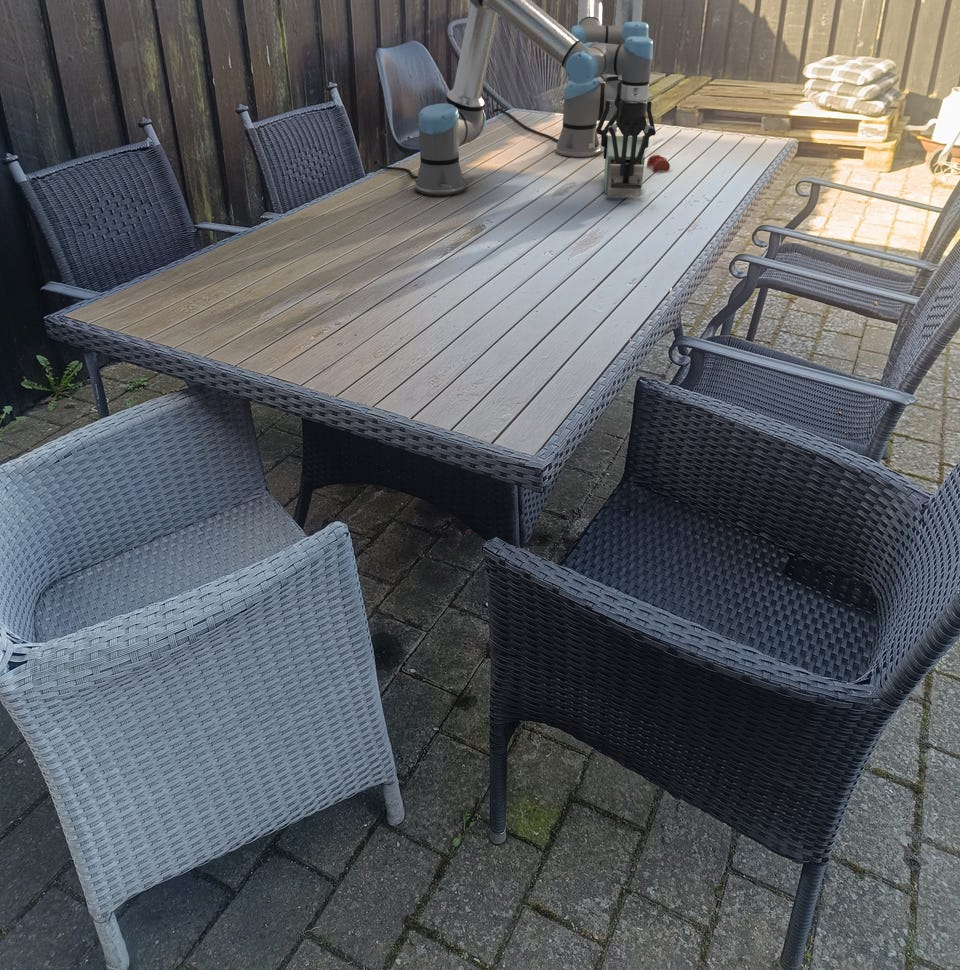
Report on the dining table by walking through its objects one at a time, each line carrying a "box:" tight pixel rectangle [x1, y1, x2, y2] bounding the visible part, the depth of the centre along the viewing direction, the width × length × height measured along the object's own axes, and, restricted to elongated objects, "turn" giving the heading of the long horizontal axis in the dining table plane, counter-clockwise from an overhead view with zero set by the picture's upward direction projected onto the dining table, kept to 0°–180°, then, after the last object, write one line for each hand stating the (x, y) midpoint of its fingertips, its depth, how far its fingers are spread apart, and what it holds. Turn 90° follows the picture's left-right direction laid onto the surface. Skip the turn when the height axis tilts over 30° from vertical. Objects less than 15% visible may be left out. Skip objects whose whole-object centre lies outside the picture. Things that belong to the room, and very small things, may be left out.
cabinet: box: [603, 135, 646, 196], centre depth 259 cm, size 20×11×11 cm, turn 174°
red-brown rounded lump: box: [646, 154, 671, 172], centre depth 276 cm, size 6×4×8 cm
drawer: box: [607, 159, 644, 198], centre depth 253 cm, size 24×10×9 cm, turn 174°
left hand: (625, 187), depth 246 cm, fingers closed
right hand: (623, 158), depth 263 cm, fingers closed on cabinet, 11 cm apart
